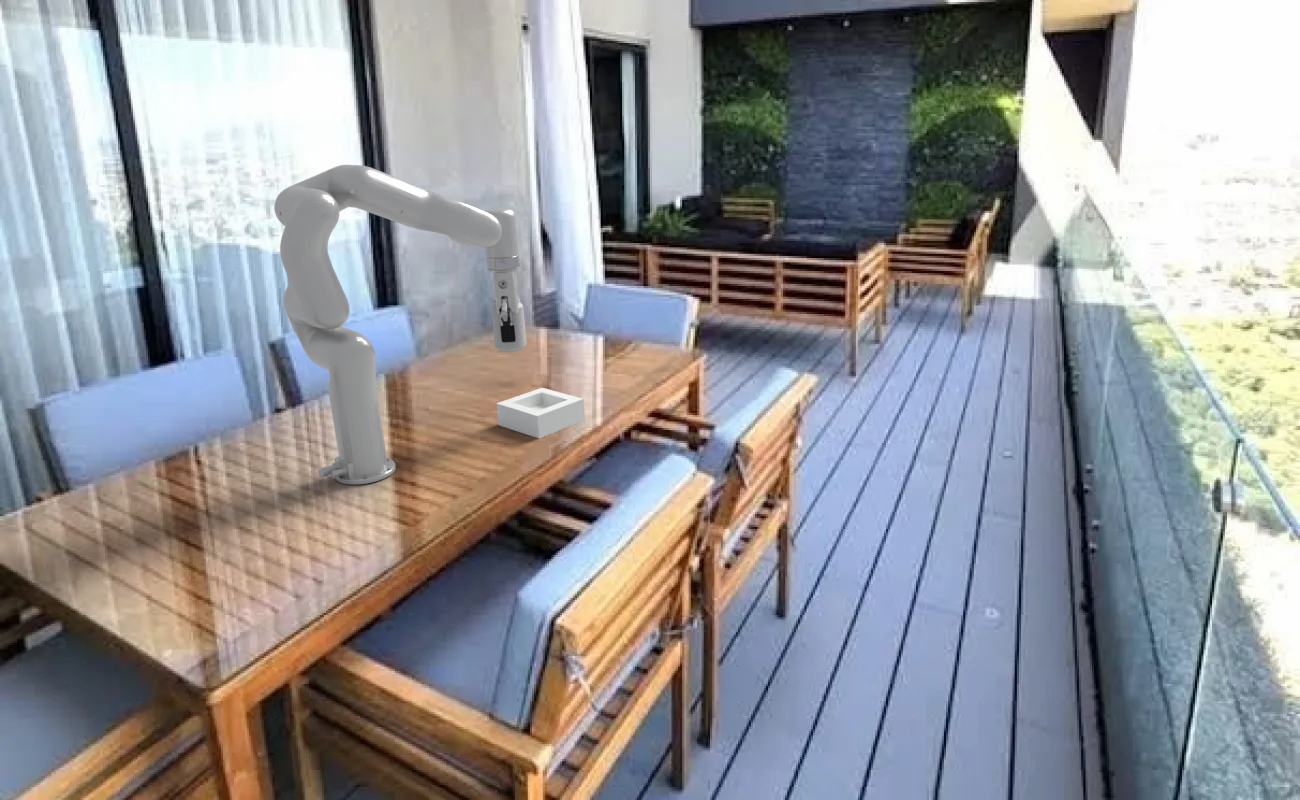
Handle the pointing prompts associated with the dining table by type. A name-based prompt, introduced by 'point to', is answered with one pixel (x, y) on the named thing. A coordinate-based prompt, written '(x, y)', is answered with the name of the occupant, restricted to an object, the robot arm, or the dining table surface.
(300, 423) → the dining table surface
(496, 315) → the can
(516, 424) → the riser
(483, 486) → the dining table surface
